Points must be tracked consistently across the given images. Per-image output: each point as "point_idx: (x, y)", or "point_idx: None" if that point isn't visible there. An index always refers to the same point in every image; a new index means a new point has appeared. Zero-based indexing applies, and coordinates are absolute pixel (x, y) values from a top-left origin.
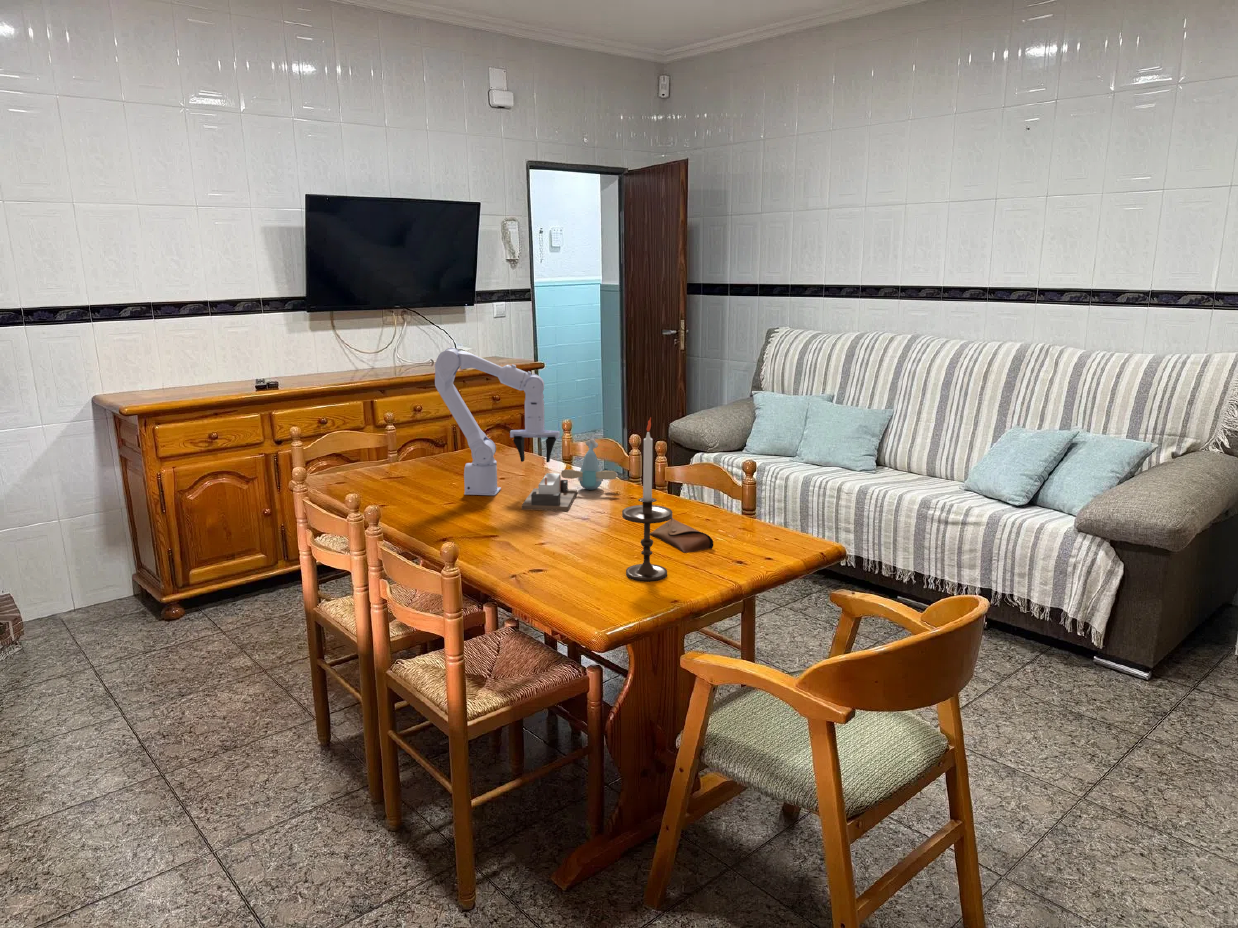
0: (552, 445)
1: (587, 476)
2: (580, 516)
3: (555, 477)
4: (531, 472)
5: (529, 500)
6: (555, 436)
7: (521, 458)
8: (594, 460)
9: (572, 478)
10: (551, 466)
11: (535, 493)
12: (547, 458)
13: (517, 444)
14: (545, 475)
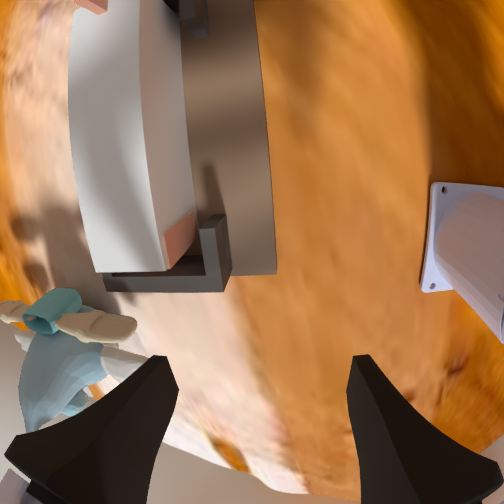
0: (43, 430)
1: (45, 304)
2: (54, 18)
3: (83, 170)
4: (328, 450)
5: (236, 51)
6: (17, 491)
7: (371, 369)
8: (21, 370)
9: (98, 311)
10: (286, 477)
11: (180, 2)
12: (144, 371)
13: (449, 460)
14: (151, 206)
